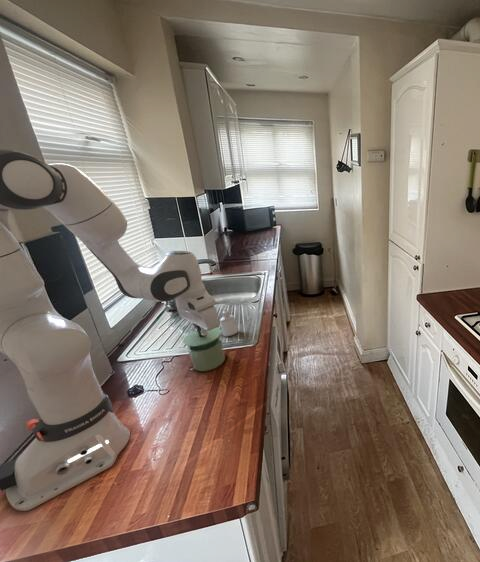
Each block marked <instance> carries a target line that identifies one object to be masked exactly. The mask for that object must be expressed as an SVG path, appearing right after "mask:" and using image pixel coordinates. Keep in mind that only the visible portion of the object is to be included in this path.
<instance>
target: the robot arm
mask: <svg viewBox="0 0 480 562" xmlns="http://www.w3.org/2000/svg"><path fill="white" fill-rule="evenodd" d="M40 208H43V209H44V210H45V211H48V212H49V213H51V214H52V215H53V216H54V218H55V219H57V221H59V222H60V223H61V224H62V225H63V226H64V227H65V228H66V229H67V230H68V231H69V232H70V233H72V234H73V235H74V236H75V237H76V238H77V239H79V241H81V242H82V244H83V245H84V246H85V247H86V248H87V249H88V251H90V252H91V254H92V255H93V256H94V257H95V258H96V259H97V260H98V261H99V262H100V263H101V264H102V265H103V266H104V267H105V268H106V269H107V271H109V273H110V274H111V275H112V276H113V279H114V281H115V282H116V285H117V287H118V289H119V291H120V293H122V294H123V295H124V296H126V297H127V298H131V299H142V300H148V301H155V302H161V303H163V302H164V303H165V302H171V301H173V300H175V306H176V310H177V314H178V315H179V317H181V318H182V319H184V320H187V321H188V322H190V324H191V326H192V327H193V330H194V331H195V332H197V328H196V326H197V325H198V326H200V328H201V331H200V333H201V335H203V336H205V335H207V334H208V331H210V330H212V329H214V328H216V327H218V328H219V324H220V319H219V315H218V312H217V308H216V307H215V305H216V300H215V298H214V297H213V296H212V295H211V294H210V293H209V292H208V290H206V287H205V284H204V282H203V281H202V270H201V268H200V264H199V261H198V259H197V257H196V255H195V254H194V253H193V252H191V251H188V250H172V251H168V252H165V256H164V258H163V259H162V260H161V262H160V263H159V264H158V265H156V266H155V267H149V266H144V265H141V264H139V263H137V262H136V261H134V260H133V258H132V257H131V255H129V254H128V252H127V251H126V250H125V249H124V247H123V246H122V245H121V244H120V242H119V240H120V239H121V238H122V237H124V235H125V234H126V232H127V229H128V220H127V218H126V217H125V215H124V214H123V211H121V209H120V207H118V205H117V204H116V203H115V202H114V201H113V199H111V198H110V196H109V195H108V194H107V193H106V192H105V191H104V190H102V188H101V187H100V186H99V185H98V184H96V183H95V182H94V181H93V180H92V179H91V178H90V177H89V176H87V175H86V174H85V173H84V172H82V171H81V170H80V169H78V168H77V167H76V166H73V165H71V164H67V163H49V164H48V163H47V162H44V161H43V160H41V159H39V158H38V157H35V156H34V155H31V154H28V153H25V152H22V151H17V150H13V149H5V148H4V149H3V148H2V149H0V353H2V354H3V355H4V356H6V357H7V358H8V359H9V360H11V362H12V363H13V364H14V365H15V366H16V368H17V369H18V371H19V373H20V375H21V377H22V380H23V382H24V384H25V389H26V391H27V393H26V394H27V397H28V399H29V400H30V401H31V404H32V405H33V407H34V408H35V411H36V413H37V414H38V416H39V417H40V419H37V418H32V419H29V420H28V421H27V422H26V424H25V427H26V428H27V430H28V431H32V433H33V435H34V437H35V438H34V439H33V440H31V442H30V443H29V445H28V446H26V448H25V449H24V450H23V451H22V452H21V453H20V454H19V455H18V456H17V457H15V458H13V459H11V460H8V461H5V462H4V463H3V462H2V463H1V464H0V491H1V492H3V491H5V496H6V499H7V501H8V503H9V505H10V506H11V507H12V508H13V509H15V511H16V510H17V511H20V512H27V511H31V510H33V509H35V508H36V507H38V506H40V505H41V504H44V503H45V502H48V501H49V500H51V499H53V498H55V497H57V496H59V495H61V494H62V493H64V492H66V491H68V490H70V489H72V488H74V487H75V486H77V485H79V484H81V483H83V482H85V481H87V480H89V479H90V478H92V477H95V476H96V475H98V474H100V473H102V472H104V471H106V470H107V469H109V468H111V467H113V465H114V464H115V463H116V460H117V458H118V456H119V454H120V453H121V451H122V450H123V449H125V447H126V446H127V444H128V442H129V440H130V438H131V431H130V429H129V428H128V427H127V426H126V425H124V424H123V423H122V422H121V420H120V419H119V418H118V416H116V414H115V412H114V408H113V404H112V402H111V399H110V397H109V396H108V394H107V393H106V392H105V391H104V390H102V387H101V384H100V382H99V381H98V378H97V376H96V373H95V371H94V368H93V365H92V358H91V349H92V343H91V339H90V337H89V335H88V334H87V332H86V331H85V330H84V328H83V327H81V326H80V325H79V324H78V323H76V322H74V321H71V320H69V319H67V318H65V317H63V316H62V315H61V314H59V312H58V311H57V310H56V309H55V308H54V306H53V304H52V302H51V300H50V298H49V296H48V293H47V290H46V287H45V281H44V279H43V278H42V276H41V275H40V273H39V272H38V271H37V268H36V267H35V266H34V264H33V262H32V261H31V259H30V258H29V256H28V254H27V253H26V251H25V250H24V249H23V247H22V246H21V244H20V242H19V241H18V240H17V239H16V237H15V236H14V234H13V233H12V232H11V228H10V225H9V214H10V211H19V210H22V211H25V210H26V211H27V210H35V209H40ZM207 330H208V331H207ZM197 333H198V332H197Z"/></svg>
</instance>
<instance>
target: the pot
mask: <svg viewBox="0 0 480 562" xmlns="http://www.w3.org/2000/svg"><path fill="white" fill-rule="evenodd" d="M187 351H188V355H189V358H190V362H191V365H192V367H193V370H195V371H197V372H204V371H206V372H207V371H210V370H213V369H216V368H218V367H219V366H221V365H222V364H223V363H224V362H225V360H226V355H225V351H224V348H223V343H222V340H221V336H220V337H219V338H217V339H216V340H214V341H213V342H210V343H208V344H205V345H201V346H187Z"/></svg>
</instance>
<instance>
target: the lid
mask: <svg viewBox="0 0 480 562" xmlns="http://www.w3.org/2000/svg"><path fill="white" fill-rule="evenodd" d="M196 328H197V332H198V333H197V332H195V330H193V331H190V332H188V333H187V334H186V335H184V337H183V339H182V342H183V344H184V345H185V346H187V347H188V346H201V345H205V344H208V343H210V342H213V341H214V340H216V339H217V338H219V337H220V338H221V336H222V334H223V332H222V328H220V327H219V326H218V327H216V328H214V329H212V330H210V331H208V330H207V331H208V334H207V335H205V336H203V335H201V333H200V331H201V328H200V326H198V325H197V326H196Z"/></svg>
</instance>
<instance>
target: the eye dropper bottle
mask: <svg viewBox="0 0 480 562" xmlns="http://www.w3.org/2000/svg"><path fill="white" fill-rule="evenodd" d="M221 314H222V316H221V318H219V324H220V327H221V328H220V329H221V331H222V336H223V337H231V336H234V335H236V334H238V326H237V322H236V318H235V316H234V315H232V314H230V311H229V310H227V308H226V307H225V308H223V311H222V313H221Z"/></svg>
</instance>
